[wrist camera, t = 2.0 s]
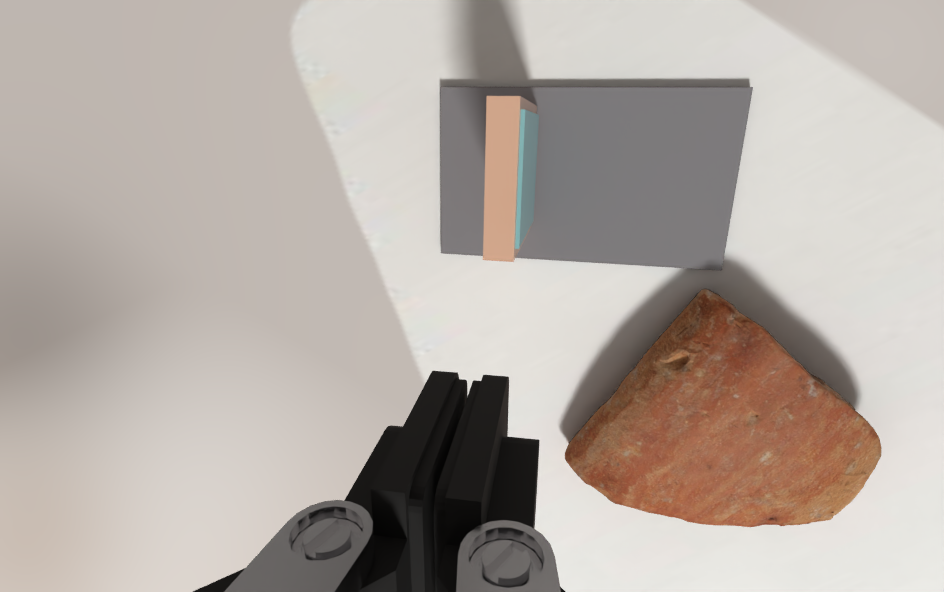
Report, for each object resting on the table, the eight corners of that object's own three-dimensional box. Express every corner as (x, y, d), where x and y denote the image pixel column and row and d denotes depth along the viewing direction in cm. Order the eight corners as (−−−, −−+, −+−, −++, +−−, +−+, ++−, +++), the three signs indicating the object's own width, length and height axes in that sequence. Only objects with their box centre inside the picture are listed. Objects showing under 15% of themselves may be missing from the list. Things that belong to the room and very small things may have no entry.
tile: (540, 105, 29) (524, 95, 21) (533, 227, 32) (517, 262, 23) (512, 105, 30) (486, 96, 21) (508, 225, 32) (482, 260, 23)
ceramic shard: (748, 622, 32) (551, 466, 34) (740, 545, 37) (572, 415, 39) (973, 490, 25) (708, 303, 27) (922, 419, 30) (706, 269, 32)
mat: (750, 88, 28) (752, 87, 27) (719, 268, 31) (721, 270, 30) (442, 87, 31) (440, 87, 30) (442, 251, 34) (441, 253, 33)
